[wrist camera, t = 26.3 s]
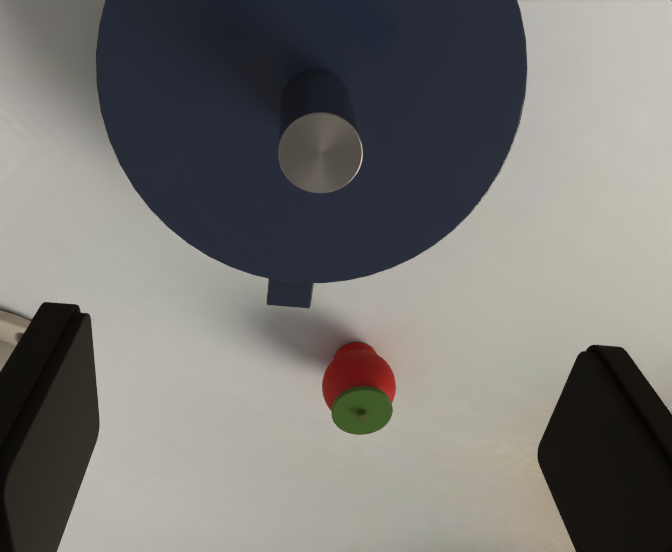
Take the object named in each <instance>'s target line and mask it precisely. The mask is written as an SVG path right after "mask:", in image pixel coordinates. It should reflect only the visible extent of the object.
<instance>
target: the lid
mask: <svg viewBox="0 0 672 552" xmlns="http://www.w3.org/2000/svg"><path fill="white" fill-rule="evenodd" d="M96 73H97V88H98V95H99V101H100V107H101V113H102V117H103V120H104V123H105V127H106V130H107V134H108V137H109V140H110V142H111V145H112V147H113V149H114V152H115V154H116V156H117V158H118V161H119V163H120V165H121V167H122V168H123V170H124V172H125V174H126V175H127V177H128V179H129V180H130V182H131V184H132V185H133V187H134V189H135V190H136V191H137V192H138V194H139V195H140V196H141V198H142V199H143V200H144V202H145V203H146V204H147V205H148V207H149V208H150V209H151V210H152V211H153V212H154V213H155V214H156V215H157V216H158V217H159V218H160V219H161V220H162V221H163V223H164V224H165V225H166V226H167V227H169V228H170V229H171V230H172V231H173V232H175V233H176V234H177V235H178V236H180V237H181V238H182V239H183V240H185V241H186V242H187V243H189V244H190V245H192V246H193V247H195V248H196V249H198V250H200V251H201V252H203V253H204V254H206V255H207V256H209V257H211V258H213V259H215V260H217V261H220V262H222V263H224V264H226V265H228V266H230V267H233V268H235V269H238V270H241V271H244V272H247V273H250V274H252V275H257V276H261V277H265V278H269V279H274V280H280V281H289V282H297V283H327V282H337V281H346V280H351V279H355V278H360V277H365V276H369V275H372V274H375V273H378V272H381V271H384V270H387V269H390V268H393V267H395V266H397V265H399V264H401V263H403V262H405V261H408V260H410V259H412V258H414V257H415V256H417V255H419V254H420V253H422V252H424V251H425V250H427V249H429V248H430V247H432V246H433V245H435V244H436V243H437V242H439V241H440V240H441V239H443V238H444V237H445V236H446V235H448V234H449V233H450V232H452V231H453V230H454V229H455V228H456V227H457V226H458V225H459V224H460V223H461V222H462V221H463V220H464V219H465V218H466V217H467V216H468V215H469V214H470V213H471V212H472V211H473V209H474V208H475V207H476V206H477V205H478V203H479V202H480V201H481V200H482V198H483V197H484V196H485V195H486V193H487V192H488V190H489V189H490V187H491V185H492V184H493V182H494V181H495V179H496V177H497V176H498V174H499V173H500V171H501V169H502V167H503V165H504V162H505V160H506V158H507V156H508V154H509V152H510V150H511V147H512V144H513V141H514V138H515V136H516V133H517V130H518V127H519V124H520V119H521V114H522V109H523V104H524V99H525V92H526V79H527V54H526V38H525V33H524V27H523V22H522V17H521V11H520V8H519V5H518V2H517V0H105V4H104V8H103V12H102V16H101V20H100V24H99V32H98V41H97V50H96Z"/></svg>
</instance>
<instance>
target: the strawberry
mask: <svg viewBox="0 0 672 552" xmlns="http://www.w3.org/2000/svg"><path fill="white" fill-rule="evenodd" d="M322 390H323V396H324V399H325V402H326V404H327V406H328V407H329V409H330V410H331V411H332V418H333V421H334V423H335V424H336V425H337V426H338V427H339V428H340V429H341V430H343V431H345V432H347V433H351V434H357V435H363V434H369V433H373V432H376V431H378V430H380V429H381V428H383V427H384V426H385V425H386V424H387V423H388V422H389V420H390V419H391V416H392V412H393V408H392V402H393V399H394V396H395V390H396V384H395V378H394V375H393V372H392V370H391V368H390V366H389V365H388V364H387V362H386V361H385V360H384V359H383V358H381V357H380V356H379V355H377V354H376V352H375V351H374V349H373V348H372V347H370V346H369V345H367V344H364V343H360V342H353V343H349V344H346V345H344V346H342V347H341V348H340V349H339V350H338V351H337V352H336V354H335V356H334V360H333V361H332V362H331V363H330V364H329V366H328V367H327V369H326V371H325V374H324V377H323V383H322Z"/></svg>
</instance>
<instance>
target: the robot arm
mask: <svg viewBox="0 0 672 552" xmlns="http://www.w3.org/2000/svg"><path fill="white" fill-rule="evenodd" d="M98 433H99V409H98V398H97V386H96V374H95V362H94V350H93V339H92V327H91V318H90V315H89V314H88V313H81V312H80V308H79V306H78V305H76V304H63V303H50V302H45V303H43V304H42V305H41V306H40V308H39V309H38V311H37V313H36V314H35V316H34V317H33V319H32V321H29V320H27V319H24V318H22V317H20V316H18V315H14V314H11V313H7V312H4V311H1V310H0V552H57V549H58V547H59V544H60V541H61V538H62V536H63V533H64V530H65V527H66V525H67V522H68V519H69V516H70V513H71V511H72V508H73V505H74V502H75V500H76V497H77V494H78V491H79V488H80V486H81V483H82V480H83V477H84V475H85V472H86V469H87V466H88V464H89V461H90V458H91V455H92V452H93V450H94V447H95V444H96V441H97V438H98ZM538 462H539V466H540V468H541V470H542V473H543V475H544V477H545V480H546V482H547V484H548V487H549V489H550V492H551V494H552V496H553V499H554V501H555V503H556V506H557V508H558V510H559V513H560V515H561V517H562V520H563V522H564V524H565V527H566V529H567V532H568V534H569V536H570V539H571V541H572V543H573V546H574V548H575V550H576V552H672V414H671V413H670V411H669V410H668V409H667V407H666V406H665V404H664V403H663V402H662V400H661V399H660V397H659V396H658V395H657V393H656V392H655V390H654V389H653V388H652V386H651V385H650V384H649V382H648V381H647V379H646V378H645V377H644V375H643V374H642V372H641V371H640V370H639V368H638V367H637V365H636V364H635V363H634V361H633V360H632V358H631V357H630V356H629V354H628V353H627V352H626V351H625V350H624V349H623V348H621V347H615V346H602V345H591V346H590V347H589V348H587V350H586V352H585V351H583V352H581V353H580V354H579V355H578V356H577V358H576V361H575V363H574V365H573V368H572V370H571V372H570V375H569V377H568V379H567V382H566V384H565V386H564V388H563V391H562V393H561V395H560V398H559V400H558V402H557V405H556V407H555V409H554V412H553V414H552V416H551V418H550V421H549V423H548V425H547V428H546V430H545V432H544V435H543V437H542V439H541V442H540V444H539V447H538Z"/></svg>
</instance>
